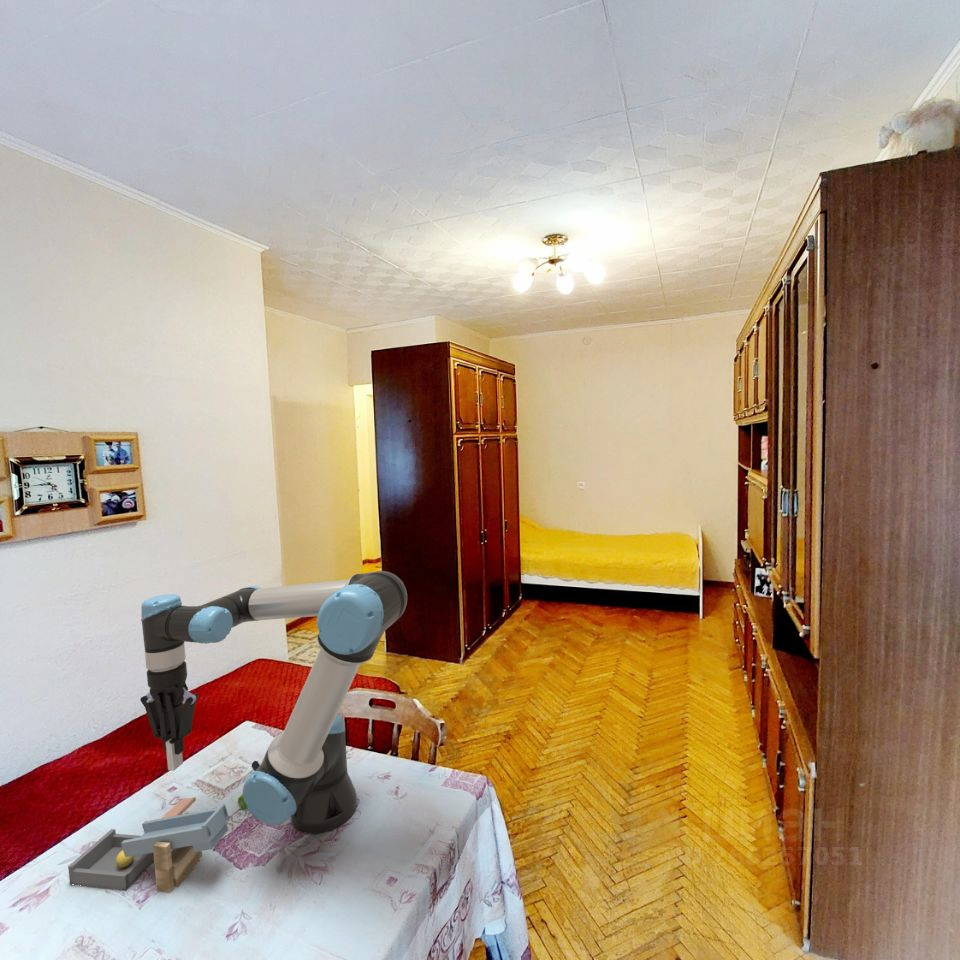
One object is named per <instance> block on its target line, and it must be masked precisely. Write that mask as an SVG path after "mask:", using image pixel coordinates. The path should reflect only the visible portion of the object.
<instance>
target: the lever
mask: <svg viewBox="0 0 960 960" xmlns="http://www.w3.org/2000/svg"><path fill="white" fill-rule="evenodd" d="M196 801H197V798H196V796H193V797H188V798H183V799H180V800H178V802H177V803H175V804H174V806H172V807H171V808H170V809H169V810H168V811H167V812H166V813H164V815H163V816H162V817H160V818H157V819H151V820H145V821H144V822H143V823H141V825H142V829H143V832H144V833H143V834H142V835H140V836H141V837H139V838H134V839H128V840H124V841H123V842H122V843H121V845H122V848H123V852H124V855H125V857H129V856H135V855H141V854H146V853H152V852H153V845H154V844H155V843H156V842H165V843H170V846H171V850H172V849H175V848H181V847H186V846H192V845H193V848H194V852H200V851H202V852H204V851H210V850H213V849H214V848H215V846H216V845H217V844H218V843H220V840H221V839H222V838H223V837H224V836H225V835H226V833H228V831H229V827H228V825H227V824H228V822H229V821H230V818H229V817H230V816H229V814H228V811H227V808H226V804H225V803H224V804H220V805H219V806H218V807H215V808H210V809H204V810H199V811H194V812H187V810H188V809H189V808H190V807H191V806H192V805H193V804H194V803H195V802H196ZM185 812H186V813H187V814H185Z"/></svg>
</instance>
